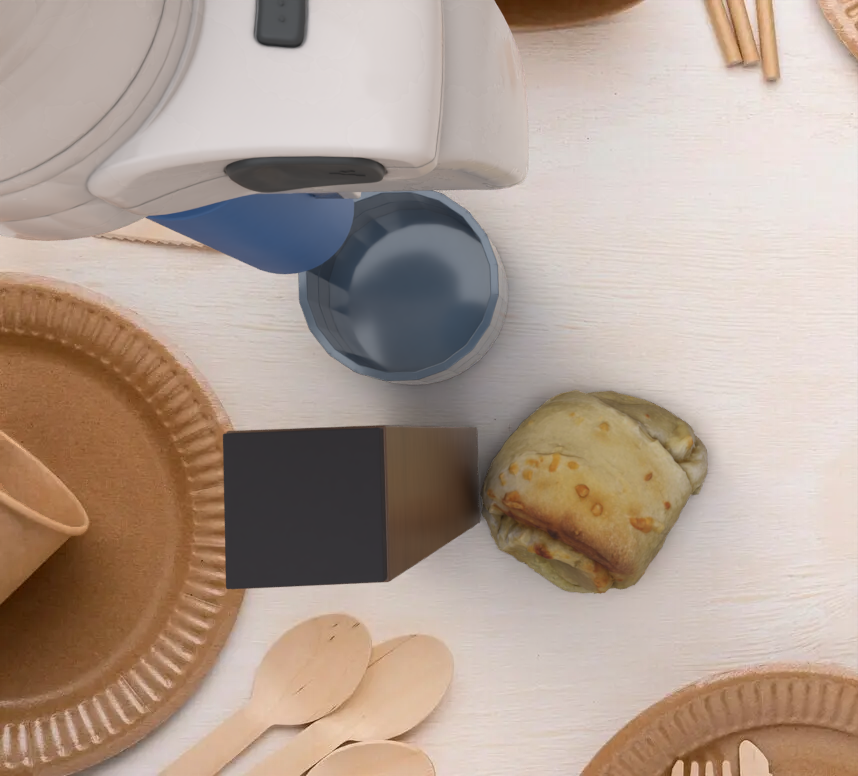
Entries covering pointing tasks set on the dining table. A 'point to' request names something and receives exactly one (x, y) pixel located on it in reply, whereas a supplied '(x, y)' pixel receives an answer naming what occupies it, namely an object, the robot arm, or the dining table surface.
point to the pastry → (592, 488)
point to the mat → (304, 508)
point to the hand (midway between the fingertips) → (243, 177)
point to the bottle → (269, 229)
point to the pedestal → (423, 489)
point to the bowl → (408, 290)
